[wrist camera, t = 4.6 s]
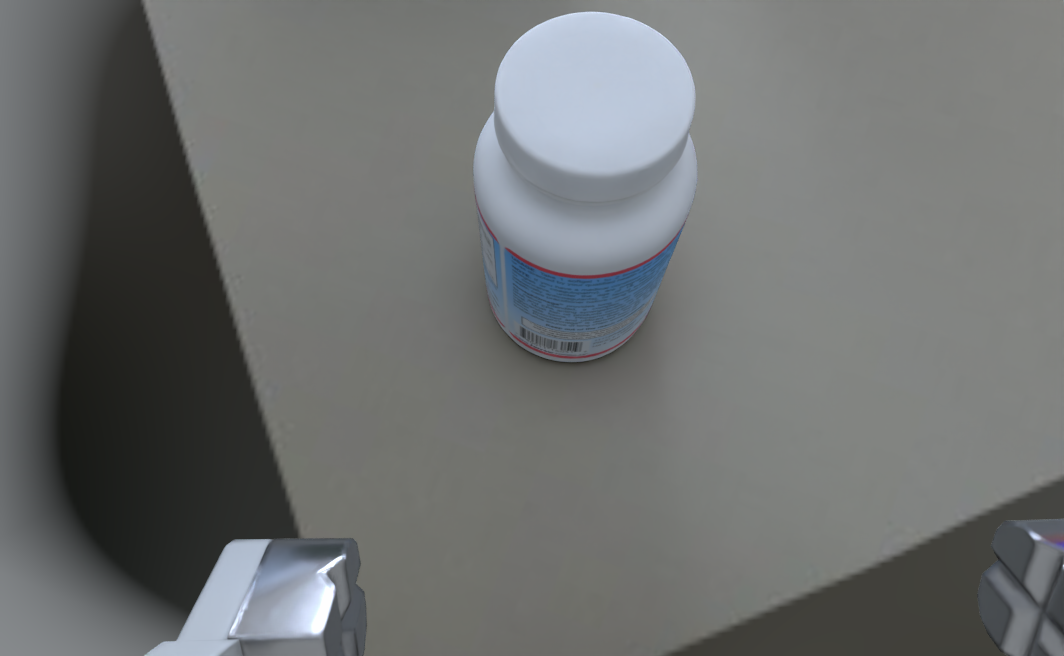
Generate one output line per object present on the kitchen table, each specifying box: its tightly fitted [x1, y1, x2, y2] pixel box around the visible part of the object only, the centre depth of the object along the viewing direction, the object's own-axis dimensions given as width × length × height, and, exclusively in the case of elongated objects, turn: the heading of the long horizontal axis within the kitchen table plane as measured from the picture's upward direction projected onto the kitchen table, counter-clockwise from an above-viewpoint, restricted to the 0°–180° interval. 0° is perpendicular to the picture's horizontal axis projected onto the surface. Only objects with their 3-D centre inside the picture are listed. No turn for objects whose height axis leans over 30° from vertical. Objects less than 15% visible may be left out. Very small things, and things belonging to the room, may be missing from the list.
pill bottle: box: [473, 12, 697, 362], centre depth 22 cm, size 6×6×11 cm
